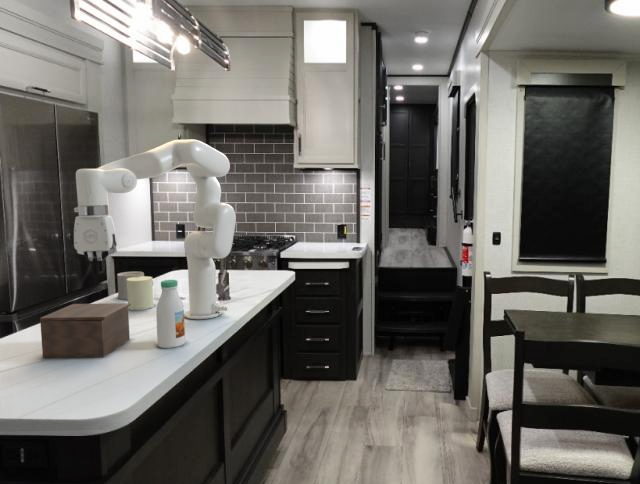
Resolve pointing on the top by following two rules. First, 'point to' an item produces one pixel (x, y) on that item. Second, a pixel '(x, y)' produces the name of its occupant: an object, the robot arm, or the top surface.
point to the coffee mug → (125, 282)
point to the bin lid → (86, 312)
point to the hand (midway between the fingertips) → (98, 273)
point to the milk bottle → (170, 316)
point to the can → (140, 292)
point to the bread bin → (84, 336)
